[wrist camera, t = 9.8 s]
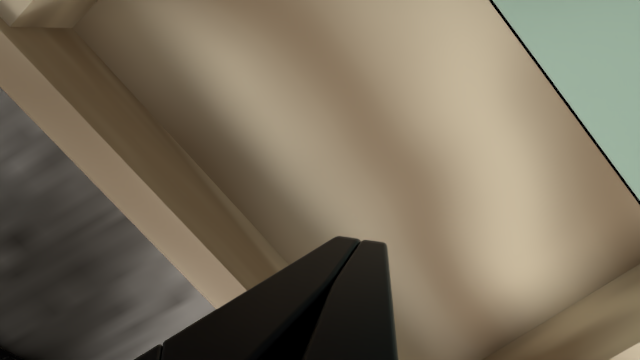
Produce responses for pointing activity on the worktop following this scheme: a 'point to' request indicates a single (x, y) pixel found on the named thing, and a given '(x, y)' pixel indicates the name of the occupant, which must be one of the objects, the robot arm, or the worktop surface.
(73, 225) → the worktop surface
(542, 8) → the sage green panel
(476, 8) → the beige open tray
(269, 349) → the robot arm
